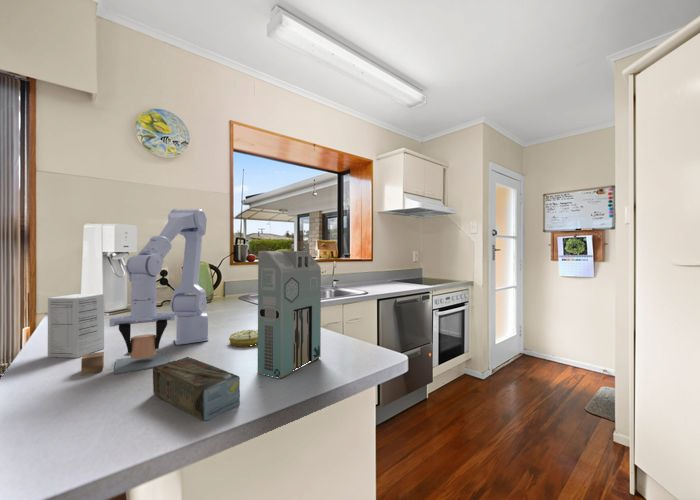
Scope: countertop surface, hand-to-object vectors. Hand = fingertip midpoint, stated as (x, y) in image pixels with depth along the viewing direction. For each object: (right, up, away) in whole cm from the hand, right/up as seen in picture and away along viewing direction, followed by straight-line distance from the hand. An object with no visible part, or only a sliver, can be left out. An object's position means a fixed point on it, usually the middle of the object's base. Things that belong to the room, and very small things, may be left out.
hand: (143, 350), depth 85 cm
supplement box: (-25, -4, +8) cm, 27 cm away
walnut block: (-9, -3, -6) cm, 11 cm away
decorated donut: (+22, -4, +19) cm, 29 cm away
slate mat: (0, -3, 0) cm, 3 cm away
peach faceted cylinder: (0, -2, 0) cm, 2 cm away
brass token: (-8, -4, +9) cm, 13 cm away
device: (+40, -4, -2) cm, 40 cm away
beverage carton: (+24, -4, -21) cm, 32 cm away
